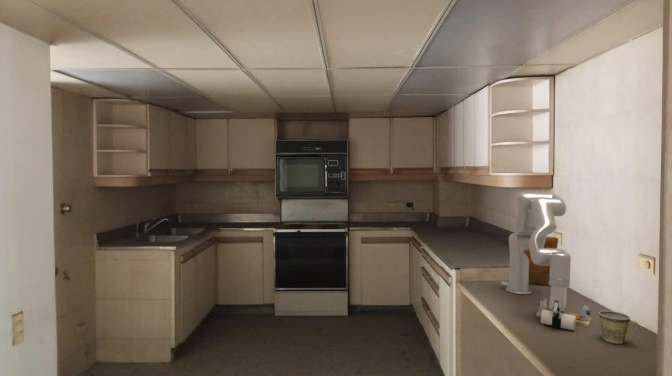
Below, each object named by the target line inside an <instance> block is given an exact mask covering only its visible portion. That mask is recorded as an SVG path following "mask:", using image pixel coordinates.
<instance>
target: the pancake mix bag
mask: <svg viewBox="0 0 672 376" xmlns="http://www.w3.org/2000/svg"><path fill="white" fill-rule="evenodd" d="M558 244H559V238H558V237H555V236H546V240H545V244H544V247H543V248H552V249H558V246H559V245H558ZM524 252H525V254H526V255H527V256H528V258H529V283H528V286H529V285H530V286H541V287H543V286H544V287H551V285H549V278H550V266H540V265H536V264H534V263H533V261H532V259H531V254H530V251H524Z"/></svg>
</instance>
